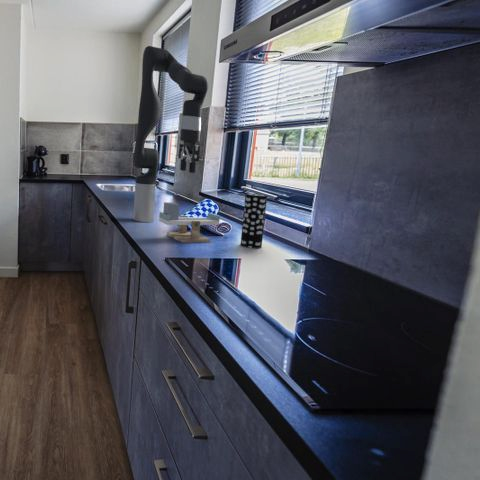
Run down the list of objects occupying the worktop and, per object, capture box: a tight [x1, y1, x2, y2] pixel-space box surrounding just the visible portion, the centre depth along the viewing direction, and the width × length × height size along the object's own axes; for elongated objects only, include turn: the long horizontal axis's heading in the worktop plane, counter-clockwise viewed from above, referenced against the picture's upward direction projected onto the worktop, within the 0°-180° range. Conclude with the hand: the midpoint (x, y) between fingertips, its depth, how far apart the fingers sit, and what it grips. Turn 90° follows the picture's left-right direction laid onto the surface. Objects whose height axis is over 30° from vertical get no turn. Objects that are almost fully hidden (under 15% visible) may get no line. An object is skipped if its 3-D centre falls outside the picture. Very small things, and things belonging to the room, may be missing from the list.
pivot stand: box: [166, 215, 211, 244], centre depth 170 cm, size 14×12×8 cm
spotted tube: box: [239, 192, 268, 249], centre depth 167 cm, size 8×8×20 cm
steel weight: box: [162, 201, 180, 220], centre depth 164 cm, size 4×4×6 cm
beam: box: [158, 211, 221, 226], centre depth 169 cm, size 9×22×4 cm, turn 122°
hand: (187, 171), depth 168 cm, fingers open, 8 cm apart
